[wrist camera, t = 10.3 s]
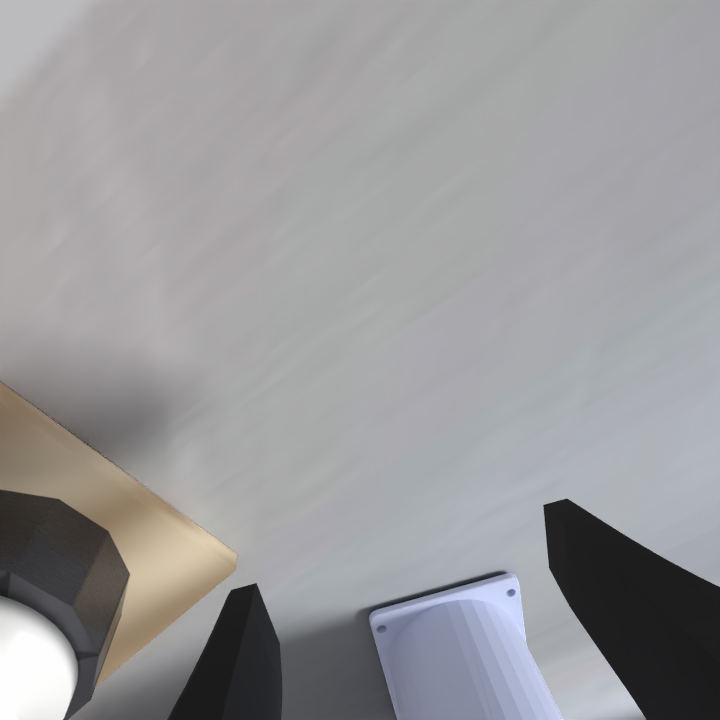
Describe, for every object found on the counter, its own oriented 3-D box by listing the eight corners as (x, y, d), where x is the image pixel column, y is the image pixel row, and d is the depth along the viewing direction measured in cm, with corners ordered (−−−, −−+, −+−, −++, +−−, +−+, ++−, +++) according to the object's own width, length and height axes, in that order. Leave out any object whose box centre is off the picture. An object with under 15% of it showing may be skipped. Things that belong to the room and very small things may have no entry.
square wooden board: (237, 554, 24) (235, 570, 23) (55, 707, 26) (46, 728, 25) (-13, 372, 19) (-28, 382, 19) (-214, 574, 21) (-236, 592, 20)
